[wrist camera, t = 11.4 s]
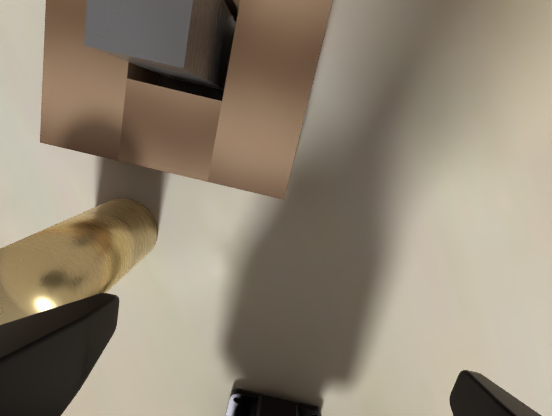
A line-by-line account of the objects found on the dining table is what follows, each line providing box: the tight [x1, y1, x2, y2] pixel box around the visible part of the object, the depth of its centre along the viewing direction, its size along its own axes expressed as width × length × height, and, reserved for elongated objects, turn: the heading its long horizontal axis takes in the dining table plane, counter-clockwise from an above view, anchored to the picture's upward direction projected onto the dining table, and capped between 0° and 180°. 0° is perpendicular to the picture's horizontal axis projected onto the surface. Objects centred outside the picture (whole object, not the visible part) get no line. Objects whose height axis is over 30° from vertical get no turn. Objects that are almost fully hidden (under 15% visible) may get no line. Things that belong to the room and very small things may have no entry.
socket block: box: [40, 0, 333, 199], centre depth 16 cm, size 12×12×4 cm
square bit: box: [84, 0, 236, 90], centre depth 14 cm, size 3×3×8 cm
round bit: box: [0, 198, 158, 325], centre depth 17 cm, size 4×4×8 cm
